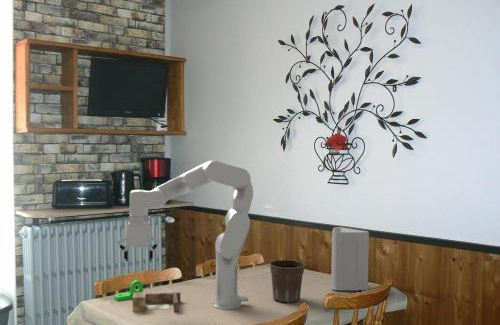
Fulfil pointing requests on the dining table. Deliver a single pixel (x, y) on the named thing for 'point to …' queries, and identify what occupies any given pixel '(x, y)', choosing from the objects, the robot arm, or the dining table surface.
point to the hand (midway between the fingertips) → (138, 260)
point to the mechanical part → (129, 294)
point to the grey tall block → (349, 259)
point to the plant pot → (286, 280)
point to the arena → (162, 300)
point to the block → (138, 301)
